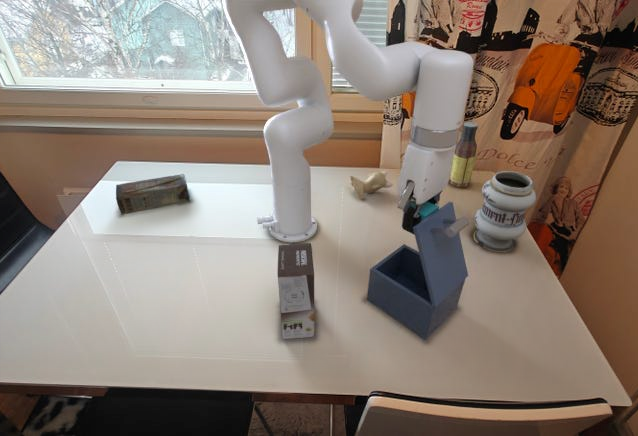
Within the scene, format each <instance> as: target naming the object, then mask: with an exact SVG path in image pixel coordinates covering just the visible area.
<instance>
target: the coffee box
mask: <svg viewBox="0 0 638 436" xmlns="http://www.w3.org/2000/svg"><path fill="white" fill-rule="evenodd" d="M312 246H313V245H312V242H294V243H289V244H278V249H277V283H278V296H279V309H280V322H281V336H282V339H283V340H287V339H288V340H289V339H290V340H291V339H303V338H313V337H315V328H316V327H315V267H314V258H313V247H312Z"/></svg>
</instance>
